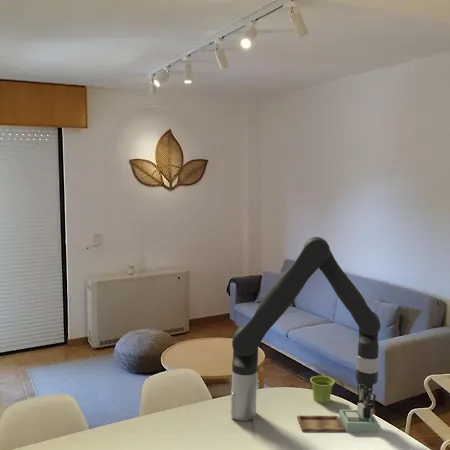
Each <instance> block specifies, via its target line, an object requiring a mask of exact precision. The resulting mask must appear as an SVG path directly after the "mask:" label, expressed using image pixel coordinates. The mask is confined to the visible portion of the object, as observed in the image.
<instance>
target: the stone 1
mask: <svg viewBox="0 0 450 450" xmlns="http://www.w3.org/2000/svg"><path fill="white" fill-rule="evenodd" d="M345 417H346V418H347V420H348V422H359V416H358V414H357V413H356V412H345Z"/></svg>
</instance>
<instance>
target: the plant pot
mask: <svg viewBox="0 0 450 450" xmlns="http://www.w3.org/2000/svg"><path fill="white" fill-rule="evenodd" d="M310 383H311V385H312V386H311V387H312V394H313V395H312V396H313V400H314V402H316V403H317V404H328V403H330V399H331V394H332V391H333V387H334V385H335V380H334V378H331V377H329V376H325V375H316V376H312V377H310Z"/></svg>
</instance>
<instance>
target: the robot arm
mask: <svg viewBox="0 0 450 450" xmlns="http://www.w3.org/2000/svg"><path fill="white" fill-rule="evenodd" d="M318 269H319V270H320V271H321V273H322V274H323V275H324V277H325V278H326V280H327V281H328V283H329V284H330V286H331V288H332V289H333V291H334V293H335V294H336V295H337V298H339V300H340V301H341V303H342V304H343V306H344V307H345V308H346V310H347V311H348V312H349V313H350V315H351V317H352V318H353V320H354V322H355V323H356V325H357V326H358V342H357V343H358V345H357V357H356V366H355V367H356V368H355V380H356V384H357V385H356V386H357V398H358V401H359V403H364V418H370V414H371V409H373V410H374V408H375V402H376V399H377V396H376V394H374V388H373V386H374V385H376V384H377V383H378V379H379V365H380V364H379V347H380V346H379V339H378V338H379V332H380V330H381V325H382V324H381V322H380V321H381V320H380V317H379V316H378V314H377V313H376V312H374V311H372V309H371V308H370V307H369V306H368V304H367V301H366V300H365V297H364V296H363V295H362V293H361V292H360V291H359V289H358V288H357V287H356V286H355V284H354V282H352V281H351V279H350V278H349V277H348V276H347V274H346V273H345V272H344V270H343V269H342V268H341V266H340V265H339V264H338V262H337V260H336V259H335V257H334V254H333V253H332V251H331V248H330V245H329V243H328V241H327V240H326V239H324V238H323V237H319V236H312V237H310V238H308V239H307V240H306V242H305V243H304V245H303V248H302V250H301V252H300V254H299V255H298V256H297V258H296V260H295V261H294V262H293V264H292V265H291V266H290V268H288V269H287V270H286V271H285V272H284V273H283V274H282V275H281V276H280V277H279V278H278V279H277V280H276V281H274V283H273V284H272V285H271V287H270V288H269V289H268V290H267V292H266V294H265V295H264V297H262V300H261V301H260V303H259V305H258V307H257V309H256V311H254V313H253V316H252V317H251V319H250V320H249V321H248V322H247V323H246V324H245V325H242V326H239V327H238V328H237V329H236V330H235V331H234V334H233V336H232V340H231V341H232V342H231V347H232V351H233V352H232V364H231V368H232V369H231V389H230V415H231V419H232V420H237V421H240V422H241V421H242V422H248V421H252V420H253V419H254V418H255V417H256V416H257V391H258V389H257V387H258V386H257V385H258V363H259V361H258V360H259V346H260V344H261V342H262V340H263V339H264V337H265V336H266V335H267V333H268V332H269V330H270V329H271V328H272V327H273V326H274V324H276V322H278V320H279V319H280V318H281V317H282V316H283V315H284V313H286V311H287V310H288V309H289V308H290V306H291V305H292V304H293V303H294V301H295V300H296V298H297V297H298V295H299V294H300V292H301V291H302V290H303V288H304V287H305V284H306V283H307V281H309V278H311V277H312V275H313V274H315V273H316V271H317V270H318Z"/></svg>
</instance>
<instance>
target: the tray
mask: <svg viewBox="0 0 450 450" xmlns="http://www.w3.org/2000/svg"><path fill="white" fill-rule="evenodd" d="M296 418H297V422H298V424H299V427H300V429H301V431H302V432H303V433H304V432H305V433H306V432H307V433H308V432H309V433H314V432H315V433H319V432H322V433H323V432H325V433H326V432H328V433H329V432H330V433H331V432H333V433H334V432H335V433H336V432H337V433H338V432H339V433H345V432H346V430H345V428H344V426H343V425H342V423H341V421H340V419H339V415H297V416H296Z"/></svg>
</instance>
